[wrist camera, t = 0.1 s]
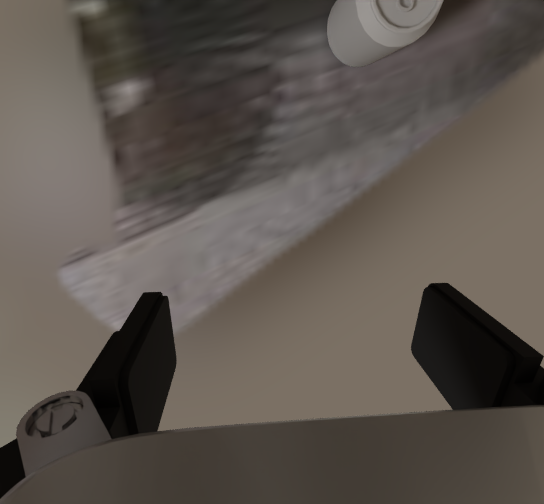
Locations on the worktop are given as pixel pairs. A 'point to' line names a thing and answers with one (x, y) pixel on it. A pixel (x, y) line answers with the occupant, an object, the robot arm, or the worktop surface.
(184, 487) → the robot arm
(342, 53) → the can
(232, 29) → the worktop surface
